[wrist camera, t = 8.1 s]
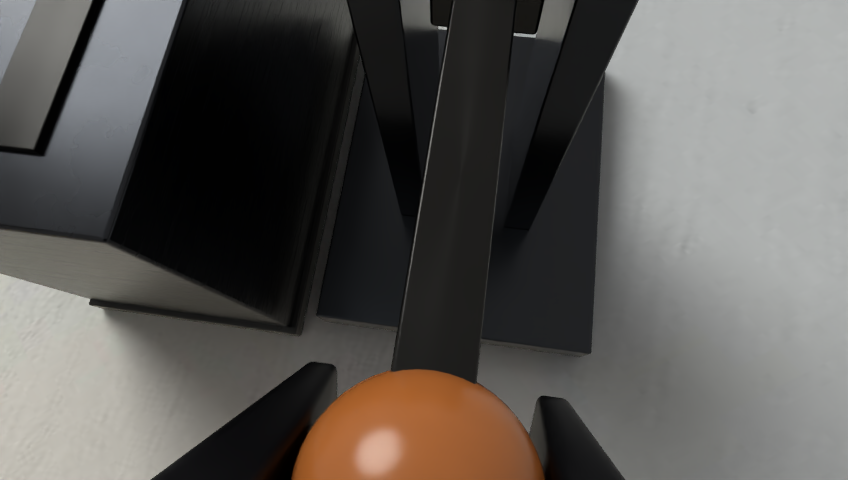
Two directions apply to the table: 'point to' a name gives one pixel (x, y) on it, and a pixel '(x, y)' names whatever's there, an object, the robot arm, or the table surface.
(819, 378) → the table surface
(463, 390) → the lever
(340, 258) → the lever bracket
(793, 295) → the table surface
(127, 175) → the toaster
